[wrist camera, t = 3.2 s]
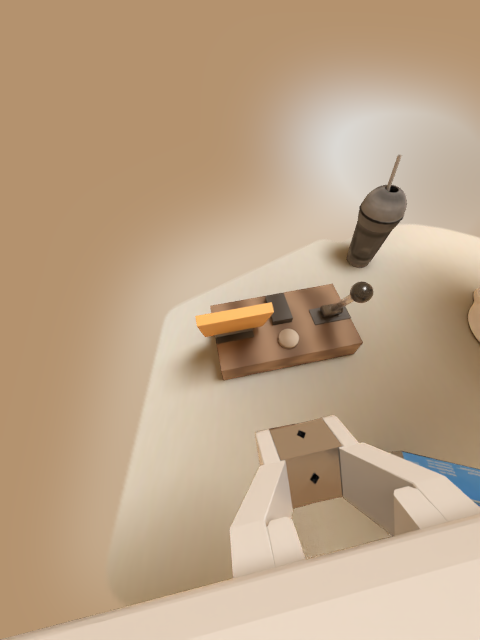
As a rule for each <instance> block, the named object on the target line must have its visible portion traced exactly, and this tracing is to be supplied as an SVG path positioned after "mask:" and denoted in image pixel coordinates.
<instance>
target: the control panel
mask: <svg viewBox="0 0 480 640" xmlns="http://www.w3.org/2000/svg"><path fill="white" fill-rule="evenodd" d="M339 301H341V299H340V297H339V295H338V293H337V292H336V290H335V288H334V286H333V284H329V285H323V286H318V287H312V288H307V289H301V290H296V291H290V292H285V293H279V294H273V295H268V296H262V297H257V298H251V299H246V300H240V301H235V302H229V303H224V304H218V305H213V306H210V307H211V313H215V312H221V311H226V310H232V309H237V308H243V307H248V306H254V305H259V304H265V303H270V302H272V305H273V310H274V313H273V314H272V315H271V316H270V318H269V319H268V320H267V322H266V323H265V324H264V325H263V326H261V327H256V328H254V330H253V331H248V332H242V333H237V334H232V335H227V336H221V337H216V343H217V349H218V355H219V361H220V367H221V372H222V376H223V380H228V379H232V378H237V377H242V376H247V375H252V374H257V373H262V372H267V371H272V370H277V369H281V368H286V367H291V366H296V365H301V364H306V363H311V362H316V361H321V360H326V359H330V358H335V357H340V356H345V355H350V354H354V353H355V352H356V351H357V349H358V348H359V347H360V346H361V344H362V343H363V342H362V340H361V338H360V336H359V334H358V332H357V330H356V328H355V326H354V324H353V322H352V321H351V319H350V318H351V317H350V315H349V313H348V311H347V309H346V308H345V306H344V307H343V313H342V314H337V315H332V316H326V317H322V315H321V313H320V307H321V306H324V305H329V304H335V303H337V302H339Z"/></svg>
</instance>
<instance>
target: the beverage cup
mask: <svg viewBox="0 0 480 640" xmlns="http://www.w3.org/2000/svg"><path fill="white" fill-rule="evenodd" d="M401 156H402V155H398V157H397V160H396V162H395V165H394V168H393V171H392V174H391V177H390V180H389V182H388V185H383V186H380V187H377V188H376V189H374V190H373V191H371V192H370V193H369V194H368V195H367V196H366V198H365V199H364V201H363V202H362V204H361V206H360V210H359V215H358V221H357V225H356V228H355V231H354V234H353V238H352V241H351V244H350V247H349V251H348V256H347V261H348V262H349V263H350V264H351V265H352V266H355V267H365V266H367V265H368V264H369V262H370V261H371V260H372V259H373V257H374V256H375V254H376V253H377V251H378V250H379V248H380V247H381V245H382V244H383V243H384V241H385V240H386V238H387V237H388V235H389V234H390V232H391V231H392V229H394V228H395V227H396V225H397V224H398V223H399V222H400V220H402V218H403V216H404V212H405V210H406V205H407V200H406V196H405V194H404V192H403V191H402V190H401V189H400V188H399V187H396V186H394V185H391V184H392V181H393V178H394V176H395V173H396V169H397V167H398V164H399V162H400V159H401Z"/></svg>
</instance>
